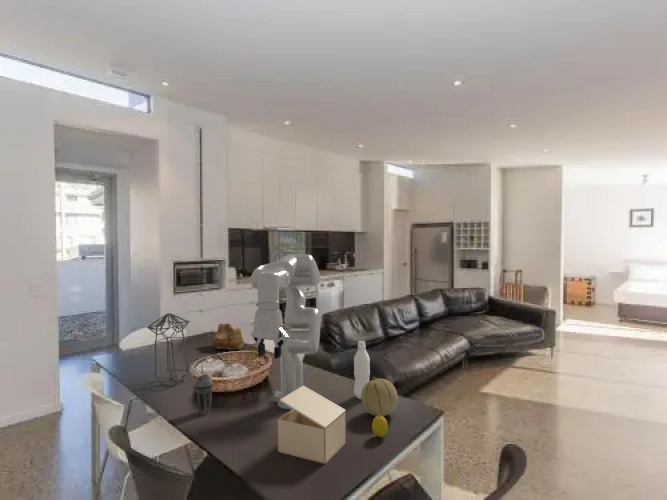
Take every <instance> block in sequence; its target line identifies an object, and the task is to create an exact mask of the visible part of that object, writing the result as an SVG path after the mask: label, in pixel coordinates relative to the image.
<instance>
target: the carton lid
mask: <svg viewBox="0 0 667 500" xmlns="http://www.w3.org/2000/svg"><path fill="white" fill-rule="evenodd" d="M280 402H282V403H284V404H285V405H287V406H289V407H290V408H292V409H291V410H295V411H297V412H298V413H300V414H302V415H303V416H305V417H306V418H308V419H310V420H311V421H313V422H315V423H316V424H318V425H320V426H321V427H323V428H324V429H325V428H326V427H328V426H329V425H330V424H331V423H332V422H334V421H335V420H336V419H337V418H338V417H339V416H341V415H342V414H343V413H344V412H345V413H346V409H345V408H343V407H342V406H339V405H338V404H337V403H334V402H333V401H331V400H330V399H327V398H326V397H325V396H322V395H321V394H319V393H317V392H315V391H314V390H313V389H311V388H309V387H307V386H305V385H304V384H303V386H302V387H300V388H298V389H297V390H295V391H293V392H292V393H290V394H289V395H287V396H285V397H284V398H282V399H280Z"/></svg>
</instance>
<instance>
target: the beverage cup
mask: <svg viewBox="0 0 667 500" xmlns="http://www.w3.org/2000/svg"><path fill="white" fill-rule="evenodd" d="M200 367H201V369H200V370H201V375H200V376H199V377H198V378H196V380H195V384H194V387H195V388H194V389H195V392H196V402H197V408H198V409H197V410H198V413H199V416H200V415H201V416H207V415H209V414H211V409H212V396H213V387H214V382H213V379H212V377H211V376H209V374H208V375H207V374H204V369H203V365H200Z"/></svg>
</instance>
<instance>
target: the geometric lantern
mask: <svg viewBox="0 0 667 500" xmlns="http://www.w3.org/2000/svg"><path fill="white" fill-rule="evenodd" d="M180 320H181V321H180ZM157 322H158V323H157ZM165 323H168V324H167V325H168V326H167V327H164V325H165ZM190 323H191V321H190V320H188V319H186V318H183V317H180V316H177V315H176V314H173V313H171V312H169V313H166V314H164V315H163V316H161V317H160V318H159V319H157V320H155V321H154V322H152V323H151V324H149V325H147V329H149V331H151V332H152V333H154V334H155V341H154V378H155V379H157V380H159V381H160V382H161V383H164V382H166V383H172V385H175V383H177V382H178V381H180V380H183V379H184V380H185V377H186V376H187V375H188V374H189V373H190V368H189V362H188V361H189V360H188V355H187V351H186V350H187V349H186V348H187V347H186V341H185V340H186V337H185V334H184V329H185V328H186V327H187V325H189V324H190ZM154 324H156V325H154ZM171 326H172V327H171ZM169 329H173V330H174V331H173V332H172V334H171V336H168V335H166V333H165V332H167V331H168V330H169ZM158 332H160V333H158ZM179 333H181V335H182V336H177V334H179ZM174 334H175V335H174ZM158 335H162V336H163V338H160V339H158ZM172 338H173V339H172ZM175 338H177V339H178V340H175ZM157 339H158V340H157ZM169 339H170V341H169ZM162 340H165V341H166V342H163V341H162ZM174 340H175V341H174ZM179 341H183V342H182V343H183V347H184V355H185V356H184V357H185V365H186V369H178V368H177V367H176V357H175V349H174V344H175V343H177V342H179ZM157 344H166V360H167V361H166V368H167V369H166V370H164V371H162V372H160V373H158V372H157ZM170 349H171V350H170ZM170 351H171V353H170ZM171 361H172V363H171ZM171 365H172V367H171ZM177 371H179V372H180V371H182V372H183V371H184V373H182V374H180V375H178V374H177ZM174 372H175V375H173V373H174ZM164 373H168V376H167V377H162V376H161V377H160V375H162V374H164ZM169 379H171V380H169ZM172 379H176V380H172ZM177 379H178V380H177ZM168 380H169V381H168ZM161 383H160V384H161Z"/></svg>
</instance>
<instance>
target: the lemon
mask: <svg viewBox="0 0 667 500" xmlns="http://www.w3.org/2000/svg"><path fill="white" fill-rule="evenodd" d="M371 428H372V429H371V430H372V433H373V434H374V435H376V437H378V438H382V437H383V436H385V435H386V434H387V432H388V429H389V427H388V421H387V419H386V418H385V416H381V415H379V416H374V417H373V420H372V424H371Z"/></svg>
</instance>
